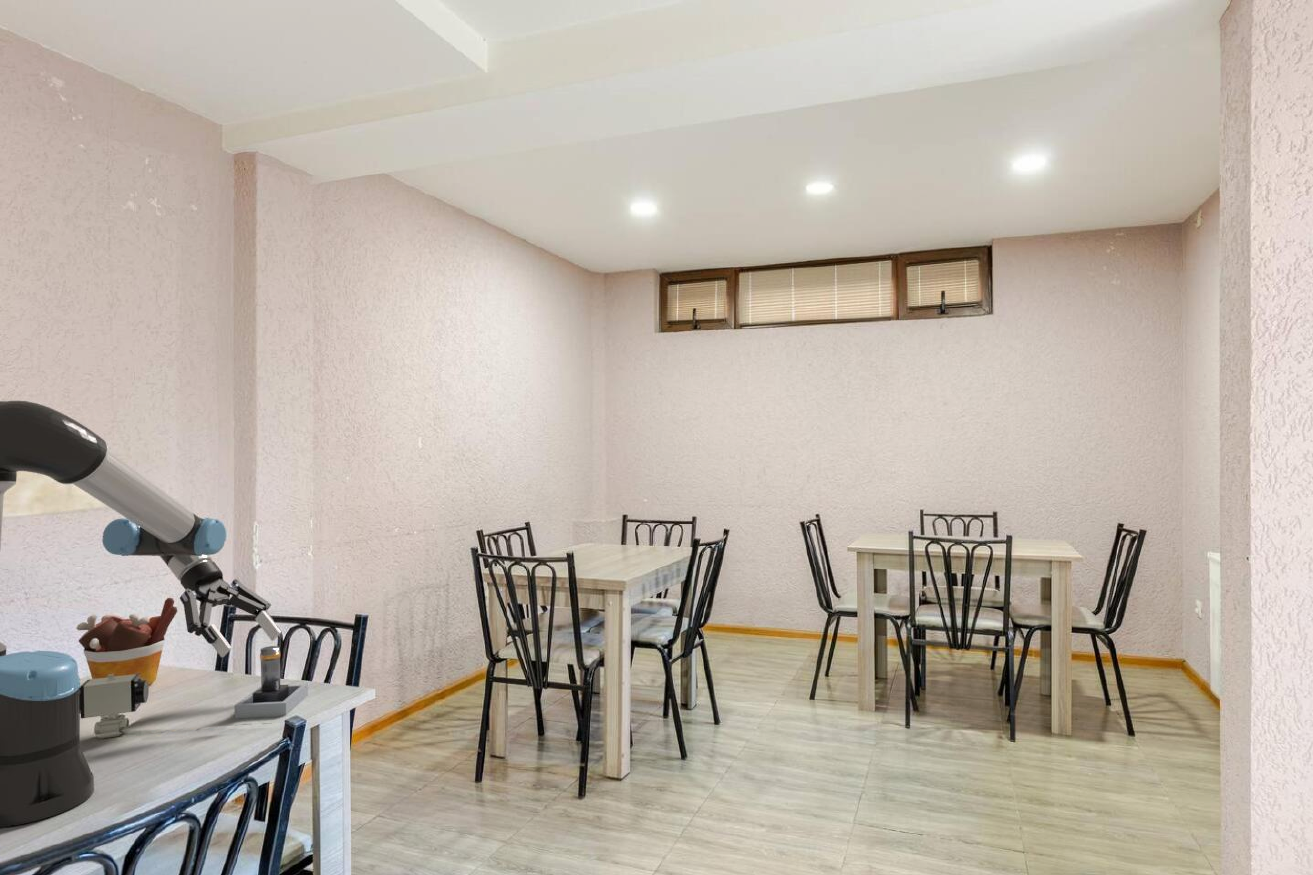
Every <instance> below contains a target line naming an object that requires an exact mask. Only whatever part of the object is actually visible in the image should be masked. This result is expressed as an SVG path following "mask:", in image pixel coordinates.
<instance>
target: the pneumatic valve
mask: <svg viewBox="0 0 1313 875" xmlns="http://www.w3.org/2000/svg"><path fill="white" fill-rule="evenodd" d="M149 686H150V685H148V681H147V680H143V681H142V678H140V674H133V675H125V676H116V677H114V674H108V677H107V678H99V679H92V678H91V679H86V680H85V681H84V682H83V683H82V684H80V720H81V719H88V718H89V719H90V718H97V717H100V721H96V722H95V724H94V727H93V728H94V729H93V733H94V735H95V736H97V739H100V740H101V739H103V740H104V739H108V738H116V737H120V736H122V735H123V732H124V730H125V729H126V728H128V727H129V726H130V719H129V717H126V715H125V714H127V713H134V712H136V711H137V710H138V709H139V707H140V706H141V704H145V703H147V702H148V700H149V699H148V698H149V692H150V690H149V688H150V687H149Z"/></svg>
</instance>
